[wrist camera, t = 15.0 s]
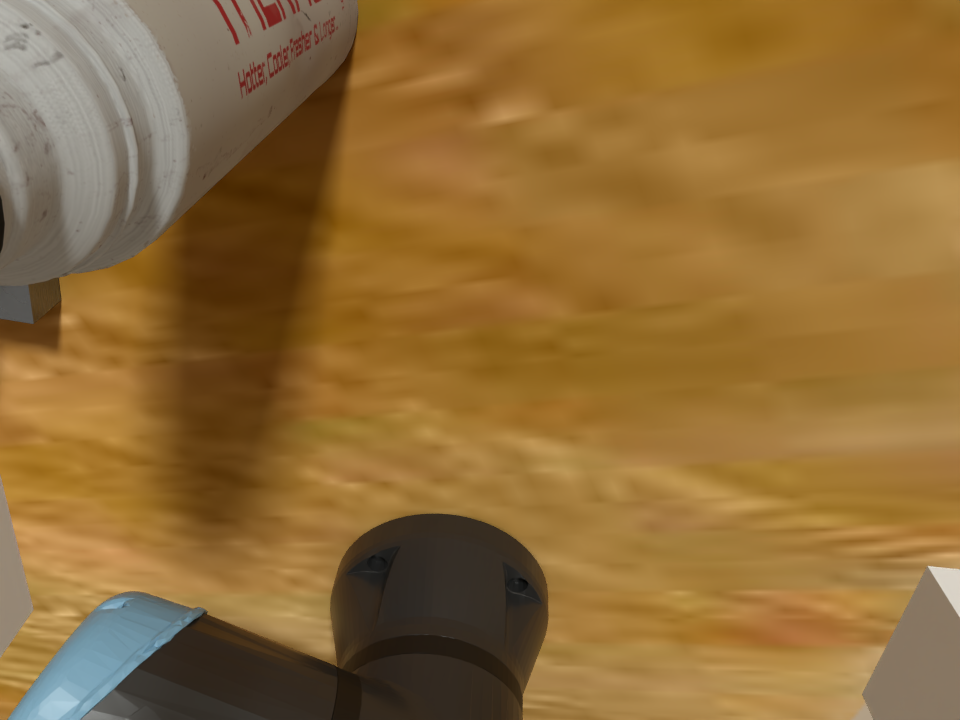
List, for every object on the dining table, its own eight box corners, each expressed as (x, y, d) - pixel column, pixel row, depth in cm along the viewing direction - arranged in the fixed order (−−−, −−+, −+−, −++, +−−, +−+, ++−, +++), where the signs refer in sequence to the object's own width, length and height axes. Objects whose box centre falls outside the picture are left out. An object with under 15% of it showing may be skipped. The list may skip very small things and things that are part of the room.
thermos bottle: (318, -119, 35) (-133, -147, 11) (383, 62, 39) (153, 337, 15) (160, -57, 37) (-538, 36, 13) (237, 111, 40) (-187, 434, 16)
